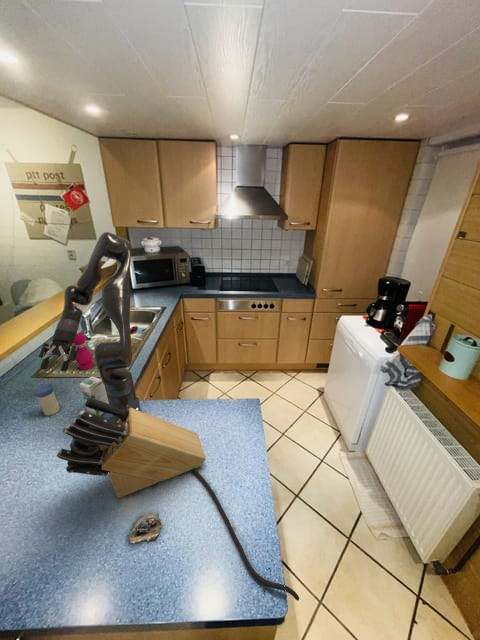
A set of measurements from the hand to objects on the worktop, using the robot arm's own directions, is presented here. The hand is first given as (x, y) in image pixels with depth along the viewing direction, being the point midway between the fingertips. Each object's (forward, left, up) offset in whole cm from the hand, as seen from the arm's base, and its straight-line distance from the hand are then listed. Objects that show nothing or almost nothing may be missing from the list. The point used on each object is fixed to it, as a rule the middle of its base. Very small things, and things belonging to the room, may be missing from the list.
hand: (53, 370), depth 99 cm
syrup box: (-19, -2, -15) cm, 24 cm away
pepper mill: (+13, -20, -15) cm, 28 cm away
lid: (-2, +6, -4) cm, 8 cm away
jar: (-2, +6, -15) cm, 16 cm away
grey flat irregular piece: (-65, +21, -15) cm, 70 cm away
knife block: (-54, +9, -15) cm, 57 cm away
